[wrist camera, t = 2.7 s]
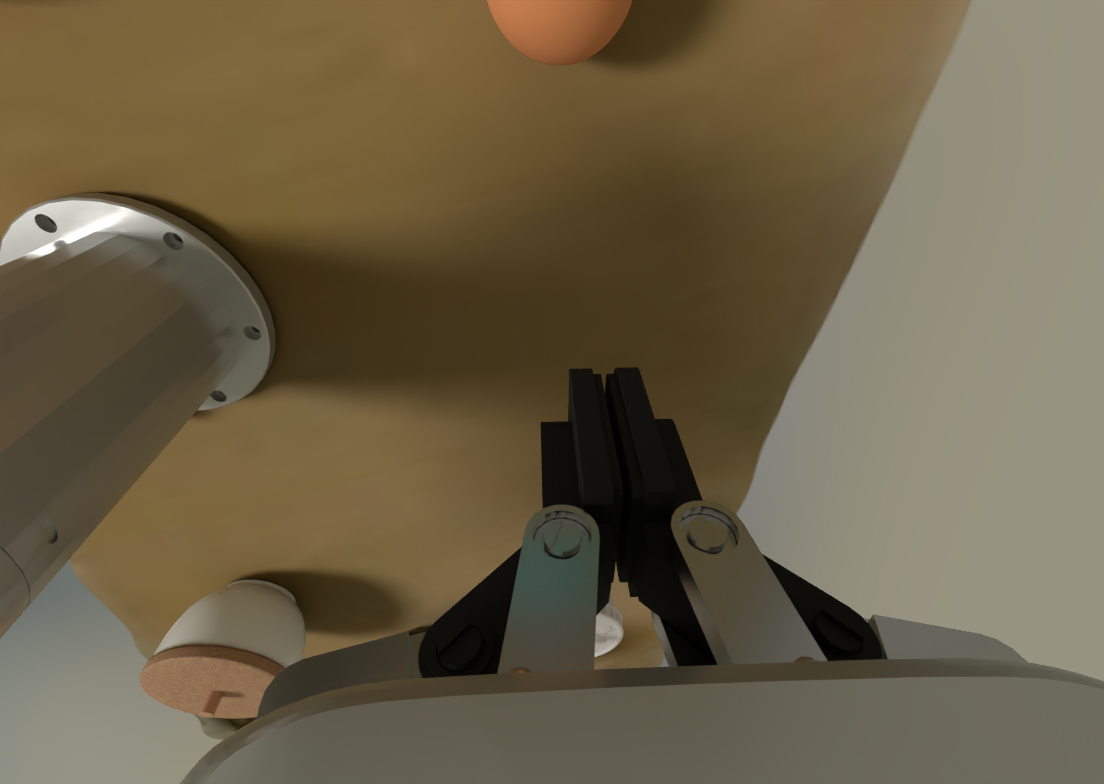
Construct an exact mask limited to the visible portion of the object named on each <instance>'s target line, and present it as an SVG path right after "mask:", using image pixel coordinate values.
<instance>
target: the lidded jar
mask: <svg viewBox="0 0 1104 784" xmlns="http://www.w3.org/2000/svg"><path fill="white" fill-rule="evenodd" d="M305 637H306V632H305V624H304V620H303V616H302V614H301V612H300V610H299V608H298V606H297V605H296V599H295V597H294V596H293V595H292V593H291V592H289V591H288V590H287V589H285V588H284V587H282V586H280V585H277V584H275V583H272V582H268V581H263V580H256V579H245V580H238V581H235V582H232V583H230V584H228V585H227V586H226V587H225V588H222V589H219V590H216V591H214V592H212V593H210V594H208V595H206V596H205V597H203V598H202V599H200V600H199V601H197V602H196V603H195V604H193V605H192V606H191V607H190V608H189V609H188V610H187V611H186V612H185V613H184V614H183V615H182V616H181V617H180V618H179V619H178V620H177V621H176V622H175V624H174V625H173V626H172V628H171V629H170V630H169V632H168V633H167V634H166V636H165V637H164V639H163V640H162V642H161V644H160V645H159V647H158V649H157V650H156V652H155V654H154V655H153V656H152V657H151V658H150V659H149V661H148V662H147V664H146V665H145V667H144V669H143V670H142V672H141V674H140V683H141V687H142V688H143V689H144V691H145V692H146V693H147V694H148V695H149V696H151V697H152V698H154V699H155V700H157V701H159V702H161V703H163V704H165V705H167V706H169V707H172V708H175V709H178V710H181V711H184V712H188V713H192V714H196V715H199V716H201V717H205V718H211V717H216V718H250V717H257V715H258V709H259V705H260V703H261V700H262V697H263V694H264V692H265V690H266V689H267V687H268V686H269V685H270V683H271V682H272V680H273V679H274V678H275V677H276V676H277V675H278V674H279V673H280V672H282V671H283V670H284V669H285V668H287V667H288V666H289V665H291V664H294V663H296V662H298V661H300V660H302V657H303V653H304V647H305Z"/></svg>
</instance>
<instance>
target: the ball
mask: <svg viewBox="0 0 1104 784" xmlns="http://www.w3.org/2000/svg"><path fill="white" fill-rule="evenodd" d="M632 1H633V0H487V2H488V6H489V8H490V11H491V13H492V16H493V18H494V20H495V22H496V23H497V25H498V27H499V29H500V30H501V32H502V33H503V34H504V36H505V37H506V38H507V39H508V41H509V42H510V43H511V44H512V45H513V46H514V47H515V48H516V49H518V50H519V51H520V52H521V53H523V54H524V55H526V56H527V57H529V58H531V59H533V60H535V61H538V62H541V63H544V64H549V65H569V64H574V63H577V62H580V61H583V60H585V59H587V58H589V57H591V56H593V55H594V54H596V53H597V52H598V51H600V50H601V49H602V48H603V47H604V46H605V45H606V44H608V43H609V42H610V40H611V39H612V38H613V37H614V35H615V34H616V33H617V31H618V30H619V28H620V27H621V25H622V24H623V22H624V20H625V18H626V16H627V14H628V12H629V9H630V6H631V4H632Z"/></svg>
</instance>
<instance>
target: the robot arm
mask: <svg viewBox="0 0 1104 784" xmlns="http://www.w3.org/2000/svg"><path fill="white" fill-rule="evenodd" d="M275 349H276V347H275V328H274V324H273V320H272V316H271V312H270V310H269V308H268V306H267V304H266V301H265V299H264V297H263V295H262V293H261V291H260V290H259V288H258V287H257V286H256V284H255V283H254V281H253V280H252V278H251V277H250V275H249V274H248V272H247V271H246V270H245V269H244V268H243V267H242V266H241V265H240V264H239V263H238V262H237V260H236V259H235V258H234V257H233V256H232V255H231V254H230V253H229V252H228V251H227V250H225V249H224V248H223V247H222V246H221V245H219V244H218V243H217V242H216V241H215V240H213V239H212V238H211V237H210V236H208V235H207V234H206V233H204V232H202V231H201V230H199V229H198V228H196V227H195V226H193V225H191V224H190V223H188V222H187V221H185V220H184V219H182V218H180V217H178V216H175V215H173V214H171V213H169V212H167V211H165V210H163V209H160V208H158V207H156V206H154V205H150V204H147V203H144V202H141V201H138V200H134V199H131V198H128V197H123V196H116V195H109V194H103V193H78V194H69V195H65V196H62V197H58V198H54V199H50V200H47V201H45V202H42V203H39V204H37V205H34V206H32V207H30V208H28V209H26V210H25V211H24V212H23V213H21V214H20V215H19V216H18V217H16V218H15V219H14V220H13V221H12V222H11V223H10V225H9V226H8V228H7V230H6V232H5V233H4V235H3V237H2V239H1V244H0V639H1V637H2V636H3V635H4V634H5V633H6V632H7V630H8V629H9V628H10V627H11V626H12V625H13V623H14V622H15V621H16V620H17V619H18V618H19V617H20V616H21V614H22V613H23V612H24V611H25V610H26V609H27V607H28V606H29V605H30V604H31V603H32V601H33V600H34V599H35V598H36V597H37V596H38V595H39V593H40V592H41V591H42V590H43V589H44V588H45V586H46V585H47V584H48V583H49V582H50V581H51V580H52V578H53V577H54V576H55V575H56V574H57V573H58V571H59V570H60V569H61V568H62V567H63V566H64V564H65V563H66V562H67V561H68V560H69V559H70V557H71V556H72V555H73V554H74V553H75V552H76V551H77V549H78V548H79V547H80V546H81V545H82V544H83V542H84V541H85V540H86V539H87V538H88V537H89V535H90V534H91V533H92V532H93V531H94V530H95V528H96V527H97V526H98V525H99V524H100V523H101V521H102V520H103V519H104V518H105V517H106V516H107V515H108V513H109V512H110V511H111V510H112V509H113V508H114V506H115V505H116V504H117V503H118V502H119V501H120V499H121V498H122V497H123V496H124V495H125V494H126V492H127V491H128V490H129V489H130V488H131V487H132V485H133V484H134V483H135V482H136V481H137V480H138V478H139V477H140V476H141V475H142V474H143V473H144V472H145V470H146V469H147V468H148V467H149V466H150V465H151V463H152V462H153V461H154V460H155V459H156V458H157V456H158V455H159V454H160V453H161V452H162V451H163V449H164V448H165V447H166V446H167V445H168V444H169V442H170V441H171V440H172V439H173V438H174V437H175V435H176V434H177V433H178V432H179V431H180V430H181V429H182V427H183V426H184V425H185V424H186V423H187V422H188V420H189V419H190V418H191V417H192V416H193V415H194V413H195V412H196V411H198V410H210V409H215V408H219V407H224V406H227V405H229V404H232V403H234V402H236V401H239V400H241V399H242V398H243V397H245V396H246V395H248V394H249V393H250V392H252V391H253V390H254V389H255V387H256V386H257V385H258V384H259V383H260V381H261V380H262V379H263V378H264V376H265V375H266V373H267V371H268V369H269V368H270V366H271V364H272V361H273V357H274V353H275ZM541 455H542V496H543V509H542V510H540V511H539V512H537V513H535V514H534V516H533V517H532V518H531V519H530V520H529V522H528V524H527V527H526V529H525V533H524V538H523V544H522V547H521V548H520V549H519V550H517V551H516V552H515V553H514V554H513V555H512V556H510V557H509V558H508V559H507V560H506V561H505V562H504V563H502V564H501V565H500V566H499V567H498V568H497V569H496V570H494V571H493V572H492V573H491V574H490V575H489V576H487V577H486V578H485V579H484V580H483V581H482V582H481V583H479V584H478V585H477V586H476V587H475V588H474V589H473V590H471V591H470V592H469V593H468V594H467V595H466V596H464V597H463V598H462V599H461V600H460V601H459V602H458V603H456V604H455V605H454V606H453V607H452V608H451V609H450V610H448V611H447V612H446V613H445V614H444V615H443V616H441V617H440V618H439V619H438V620H437V621H436V622H435V623H434V624H433V625H432V626H431V627H430V629H429V630H428V631H426V632H422V633H419V634H415V635H411V636H409V634H408V631H407V632H403V633H399V634H396V635H392V636H388V637H384V638H381V639H377V640H373V641H370V642H366V643H362V644H358V645H355V646H351V647H347V648H343V649H340V650H336V651H332V652H328V653H325V654H321V655H317V656H313V657H310V658H306V659H303V660H300V661H298V662H296V663H294V664H291V665H289V666H288V667H287V668H285V669H284V670H283V671H282V672H280V673H279V674H278V675H277V676H276V677H275V678H274V679H273V680H272V682H271V683H270V685H269V686H268V687H267V689H266V690H265V692H264V694H263V697H262V700H261V703H260V705H259V709H258V715H257V720H255V721H253V722H251V723H249V724H248V725H246V726H244V727H243V728H241V729H240V730H238V731H236V732H235V733H233V734H231V735H230V736H228V737H227V738H226V739H224V740H223V741H222V742H220V743H219V744H217V745H216V746H215V747H213V748H212V749H211V750H210V751H209V752H208V753H207V754H206V755H204V756H203V757H202V758H201V759H200V760H199V762H198V763H197V764H196V765H195V766H194V767H193V768H192V769H191V771H190V772H189V773H188V774H187V775H186V776H185V778H184V779H183V780H182V782H181V783H180V784H1104V681H1101V680H1098V679H1094V678H1091V677H1088V676H1085V675H1082V674H1078V673H1075V672H1071V671H1067V670H1062V669H1059V668H1055V667H1050V666H1044V665H1039V664H1034V663H1028V662H1027V661H1026V660H1025V659H1023V658H1022V657H1021V656H1020V655H1019V654H1018V653H1017V652H1016V651H1014V650H1013V649H1012V648H1010V647H1008V646H1007V645H1005V644H1003V643H1002V642H1000V641H998V640H997V639H994V638H991V637H988V636H984V635H982V634H978V633H972V632H966V631H961V630H955V629H950V628H944V627H939V626H933V625H928V624H922V623H917V622H911V621H906V620H900V619H895V618H889V617H884V616H878V615H873V616H872V617H871V619H865V618H863V617H862V616H860V615H859V614H858V613H856V612H855V611H854V610H852V609H851V608H850V607H848V606H847V605H845V604H843V603H842V602H840V601H838V600H837V599H835V598H833V597H832V596H830V595H829V594H827V593H825V592H824V591H822V590H820V589H819V588H817V587H815V586H814V585H812V584H810V583H809V582H807V581H806V580H804V579H802V578H801V577H799V576H797V575H796V574H794V573H792V572H791V571H789V570H787V569H786V568H784V567H782V566H781V565H779V564H778V563H776V562H774V561H773V560H771V559H769V558H768V557H766V556H764V555H762V553H761V552H760V550H759V549H758V547H757V545H756V543H755V542H754V540H753V539H752V537H751V536H750V534H749V532H748V530H747V529H746V527H745V526H744V524H743V523H742V521H741V520H740V519H739V518H738V517H737V515H736V514H734V513H733V512H732V511H730V510H729V509H728V508H726V507H724V506H721V505H719V504H717V503H714V502H709V501H703V500H702V498H701V495H700V492H699V489H698V487H697V484H696V481H695V478H694V476H693V473H692V470H691V467H690V465H689V462H688V459H687V456H686V453H685V451H684V448H683V445H682V442H681V440H680V437H679V434H678V431H677V429H676V426H675V424H674V422H673V420H672V419H655V418H654V415H653V412H652V409H651V406H650V403H649V399H648V396H647V393H646V390H645V387H644V384H643V380H642V377H641V374H640V371H639V369H638V368H637V367H632V368H615V370H614V374H607V375H606V385H605V393H604V388H603V383H602V378H601V374H593V371H592V369H591V368H588V369H570V370H569V406H568V421H567V422H541ZM615 563H616V565H617V571H618V577H619V581H620V582H628V587H629V592H630V597H638V598H639V601H640V602H641V603H642V604H644V605H645V606H646V607H648V608H649V609H650V610H651V611H652V612H651V614H652V619H653V624H654V626H655V629H656V632H657V635H658V637H659V640H660V643H661V646H662V649H663V651H664V654H665V657H666V660H667V662H668V665H669V667H653V668H627V669H602V670H594V656H595V633H596V616H597V615H598V614H599V613H600V611H601V610H602V609H603V608H604V607H605V606H606V605H607V604H608V602H609V598H610V590H611V583H613V579H614V571H615Z"/></svg>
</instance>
